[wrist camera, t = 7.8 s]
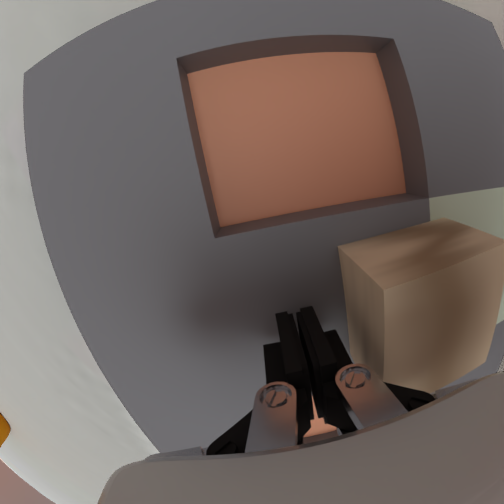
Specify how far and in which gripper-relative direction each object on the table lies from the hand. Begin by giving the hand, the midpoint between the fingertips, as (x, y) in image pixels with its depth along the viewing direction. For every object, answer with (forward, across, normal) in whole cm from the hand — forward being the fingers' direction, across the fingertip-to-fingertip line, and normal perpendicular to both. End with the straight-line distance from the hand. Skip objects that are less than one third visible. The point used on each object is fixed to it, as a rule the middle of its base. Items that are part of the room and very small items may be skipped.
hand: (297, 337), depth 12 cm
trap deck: (+3, -3, 0) cm, 5 cm away
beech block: (+1, -6, -1) cm, 6 cm away
